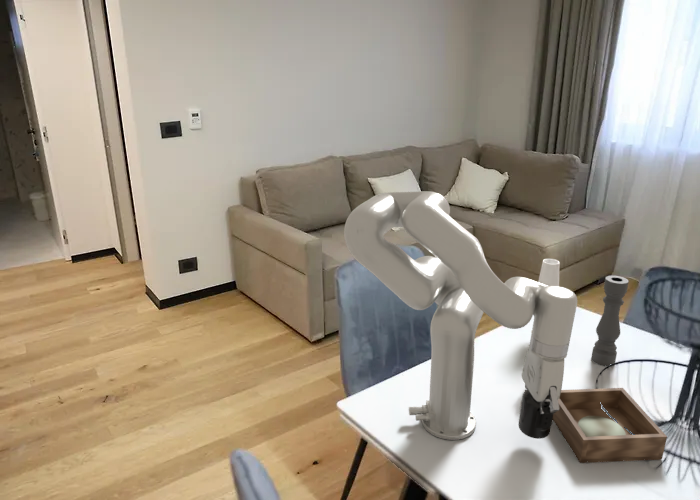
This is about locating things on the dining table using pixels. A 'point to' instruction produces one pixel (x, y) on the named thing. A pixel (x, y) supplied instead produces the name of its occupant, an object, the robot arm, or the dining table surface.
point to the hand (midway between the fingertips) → (536, 415)
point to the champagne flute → (549, 272)
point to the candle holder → (609, 321)
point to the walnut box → (607, 426)
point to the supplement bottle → (531, 417)
